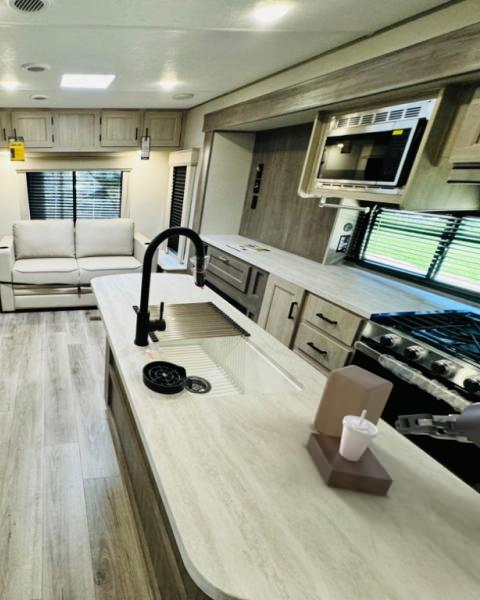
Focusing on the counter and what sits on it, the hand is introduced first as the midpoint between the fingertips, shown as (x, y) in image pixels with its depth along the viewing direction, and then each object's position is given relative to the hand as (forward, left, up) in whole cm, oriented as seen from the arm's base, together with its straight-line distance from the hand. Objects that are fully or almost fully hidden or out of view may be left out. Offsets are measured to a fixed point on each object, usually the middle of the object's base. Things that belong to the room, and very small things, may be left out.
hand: (427, 431), depth 56 cm
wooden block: (-5, -28, -27) cm, 39 cm away
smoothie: (0, -15, -22) cm, 27 cm away
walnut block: (0, -15, -27) cm, 31 cm away
